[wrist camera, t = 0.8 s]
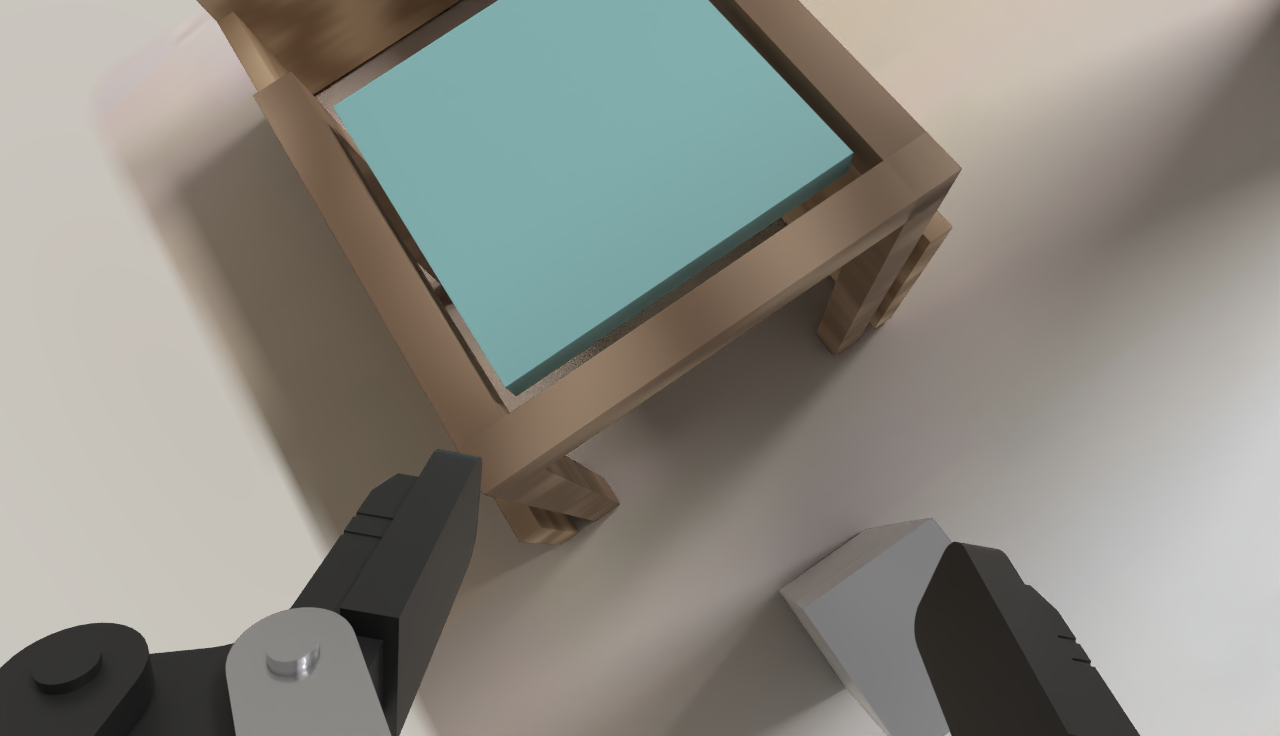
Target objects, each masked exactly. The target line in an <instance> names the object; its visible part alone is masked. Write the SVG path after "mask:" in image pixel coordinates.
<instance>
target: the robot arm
mask: <svg viewBox="0 0 1280 736" xmlns="http://www.w3.org/2000/svg"><path fill="white" fill-rule="evenodd" d="M481 475H482V458H481V457H478V456H473V455H467V454H461V453H456V452H450V451H444V450H439V449H437V450H436V451H435V452H434V453H433V454H432V456H431V458H430V459H429V461H428V463H427V464H426V466H425V468H424V469H423V471H422V473H421V474H420V476H419V477H415V476H409V475H404V474H396V475H395V476H393V477H392V478H390V479H389V480H387V481H385V482H384V483H382V484H381V485H379V486H378V487H376V488H375V489H373V490H372V491H371V492H370V494H369V495H368V497H367V498H366V500H365V501H364V503H363V504H362V506H361V507H360V508H359V510H358V511H357V515H356V517H353V519H352V520H351V521H350V523H349V524H348V526H347V527H346V529H345V530H344V534H343V535H341V536H340V537H339V539H338V540H337V542H336V543H335V545H334V546H333V548H332V549H331V550H330V552H329V553H328V555H327V556H326V558H325V559H324V561H323V562H322V564H321V565H320V566H319V568H318V569H317V571H316V572H315V574H314V575H313V577H312V578H311V579H310V581H309V582H308V584H307V585H306V587H305V588H304V590H303V591H302V593H301V594H300V595H299V597H298V598H297V600H296V601H295V603H294V604H293V605H292V607H291V608H290V609H289V610H285V611H281V612H278V613H275V614H272V615H270V616H269V617H266V618H264V619H262V620H260V621H259V622H257V623H255V624H254V625H252V626H251V627H250V628H249V629H247V630H246V631H245V632H244V633H243V634H242V635H241V636H240V637H239V638H238V639H237V640H236V642H235V643H233V644H229V645H225V646H219V647H213V648H205V649H195V650H185V651H175V652H166V653H155V654H149V651H148V645H147V643H146V641H145V639H144V638H143V636H142V635H141V634H140V633H139V632H137V631H136V630H134V629H133V628H130V627H127V626H125V625H120V624H114V623H93V624H86V625H80V626H75V627H72V628H68V629H64V630H62V631H59V632H56V633H54V634H51V635H49V636H47V637H44V638H42V639H40V640H38V641H36V642H35V643H33V644H31V645H29V646H27V647H26V648H24V649H23V650H21V651H20V652H19V653H17V654H16V655H14V656H13V657H12V658H11V659H10V660H9V661H8V662H6V663H5V664H4V665H3V666H2V667H1V668H0V736H399V735H400V733H401V730H402V728H403V725H404V723H405V720H406V718H407V715H408V713H409V710H410V708H411V706H412V703H413V701H414V698H415V696H416V693H417V691H418V688H419V686H420V683H421V681H422V679H423V676H424V674H425V671H426V669H427V666H428V664H429V661H430V659H431V656H432V654H433V651H434V649H435V647H436V644H437V642H438V639H439V637H440V634H441V632H442V629H443V627H444V624H445V622H446V620H447V617H448V615H449V612H450V610H451V607H452V605H453V602H454V600H455V597H456V595H457V593H458V590H459V588H460V585H461V583H462V580H463V578H464V575H465V573H466V570H467V568H468V565H469V562H470V559H471V556H472V552H473V548H474V543H475V538H476V532H477V522H478V510H479V499H480V487H481ZM914 634H915V640H916V644H917V648H918V650H919V653H920V655H921V658H922V660H923V663H924V666H925V668H926V671H927V673H928V676H929V678H930V681H931V684H932V686H933V689H934V691H935V694H936V697H937V699H938V702H939V704H940V707H941V709H942V712H943V715H944V717H945V720H946V722H947V725H948V727H949V730H950V733H951V735H952V736H1140V735H1139V733H1138V732H1137V730H1136V729H1135V727H1134V726H1133V724H1132V723H1131V721H1130V720H1129V718H1128V717H1127V715H1126V714H1125V712H1124V711H1123V709H1122V708H1121V706H1120V705H1119V703H1118V702H1117V700H1116V698H1115V697H1114V695H1113V694H1112V692H1111V691H1110V689H1109V688H1108V686H1107V685H1106V683H1105V682H1104V680H1103V679H1102V677H1101V676H1100V674H1099V673H1098V671H1097V670H1096V668H1095V667H1092V666H1091V665H1090V662H1091V661H1090V659H1089V658H1088V656H1087V654H1086V653H1085V651H1084V650H1083V648H1082V647H1081V645H1080V644H1077V643H1076V642H1075V640H1076V638H1075V636H1074V635H1073V633H1072V632H1071V630H1070V629H1069V627H1068V626H1067V624H1066V623H1065V621H1064V620H1063V618H1062V617H1061V615H1060V614H1059V612H1058V611H1057V610H1056V609H1055V608H1054V607H1053V606H1052V605H1051V604H1050V603H1049V602H1048V601H1046V600H1045V599H1044V598H1043V597H1042V596H1041V595H1040V594H1039V593H1038V592H1037V591H1036V590H1035V589H1034V588H1032V587H1031V586H1030V585H1025V584H1024V582H1023V581H1022V579H1021V578H1020V576H1019V574H1018V573H1017V571H1016V570H1015V568H1014V566H1013V565H1012V563H1011V562H1010V560H1009V559H1008V557H1007V556H1006V554H1005V553H1004V552H1003V551H1001V550H999V549H993V548H988V547H982V546H976V545H971V544H965V543H959V542H953V543H951V544H949V545H948V546H947V547H946V549H945V551H944V552H943V554H942V557H941V559H940V561H939V563H938V565H937V567H936V569H935V571H934V573H933V576H932V578H931V580H930V582H929V584H928V586H927V588H926V590H925V593H924V595H923V597H922V599H921V601H920V603H919V605H918V608H917V611H916V615H915V622H914Z"/></svg>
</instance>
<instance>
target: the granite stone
mask: <svg viewBox="0 0 1280 736" xmlns="http://www.w3.org/2000/svg"><path fill="white" fill-rule="evenodd" d="M951 543H952V542H951V540H950V539H949V538H948V537H947V535H946V534H945V533H944V532H943V530H942V529H941V528H940V527H939V525H938V524H937V523H936V521H935V520H934V519H933V518H926V519H920V520H915V521H909V522H903V523H898V524H892V525H886V526H881V527H875V528H869V529H865V530H864V531H862V532H861V533H859V534H858V535H857V536H855V537H854V538H852V539H851V540H849V541H848V542H847V543H845V544H844V545H842V546H841V547H840V548H838V549H837V550H835V551H834V552H832V553H831V554H830V555H828V556H827V557H825V558H824V559H823V560H821V561H820V562H818V563H817V564H815V565H814V566H813V567H811V568H810V569H808V570H807V571H806V572H804V573H803V574H801V575H800V576H798V577H797V578H796V579H794V580H793V581H791V582H790V583H788V584H787V585H786V586H784V587H783V588H781V589H780V590H779V592H780V593H781V595H782V596H783V598H784V599H785V601H786V602H787V603H788V605H789V606H790V608H791V609H792V611H793V612H794V614H795V615H796V616H797V618H798V619H799V621H800V622H801V624H802V625H803V627H804V628H805V629H806V631H807V632H808V634H809V635H810V637H811V638H812V640H813V641H814V643H815V644H816V645H817V647H818V648H819V650H820V651H821V653H822V654H823V656H824V657H825V658H826V660H827V661H828V663H829V664H830V666H831V667H832V669H833V670H834V671H835V673H836V674H837V676H838V677H839V679H840V680H841V682H842V683H843V684H844V686H845V687H846V689H847V690H848V691H849V692H850V694H851V695H852V696H853V697H854V698H855V699H856V700H857V702H858V703H859V704H860V705H861V706H862V707H863V709H864V710H865V711H866V712H867V713H868V714H869V715H870V717H871V718H872V719H873V720H874V721H875V722H876V724H877V725H878V726H879V727H880V728H881V729H882V730H883V732H884V733H885V734H886V735H887V736H944V735H945V734H947V733H948V732H949V731H950V730H949V727H948V725H947V722H946V720H945V717H944V715H943V712H942V709H941V707H940V704H939V702H938V699H937V697H936V694H935V691H934V689H933V686H932V684H931V681H930V678H929V676H928V673H927V671H926V668H925V666H924V663H923V660H922V658H921V655H920V653H919V650H918V648H917V644H916V640H915V634H914V622H915V615H916V611H917V608H918V605H919V603H920V601H921V599H922V597H923V595H924V593H925V590H926V588H927V586H928V584H929V582H930V580H931V578H932V576H933V573H934V571H935V569H936V567H937V565H938V563H939V561H940V559H941V557H942V554H943V552H944V551H945V549H946V547H947V546H948V545H949V544H951Z"/></svg>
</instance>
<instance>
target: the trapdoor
mask: <svg viewBox="0 0 1280 736" xmlns="http://www.w3.org/2000/svg"><path fill="white" fill-rule="evenodd" d="M333 108H334V110H335V111H336V113H337V115H338V116H339V118H340V119H341V121H342V123H343V124H344V126H345V128H346V129H347V131H348V132H349V134H350V136H351V137H352V139H353V141H354V142H355V144H356V145H357V147H358V149H359V150H360V152H361V154H362V155H363V157H364V159H365V160H366V162H367V163H368V165H369V167H370V168H371V170H372V172H373V173H374V175H375V176H376V178H377V180H378V181H379V183H380V185H381V186H382V188H383V190H384V191H385V193H386V194H387V196H388V198H389V199H390V201H391V203H392V204H393V206H394V207H395V209H396V211H397V212H398V214H399V216H400V217H401V219H402V220H403V222H404V224H405V225H406V227H407V229H408V230H409V232H410V234H411V235H412V237H413V238H414V240H415V242H416V243H417V245H418V247H419V248H420V250H421V251H422V253H423V255H424V256H425V258H426V260H427V261H428V263H429V264H430V266H431V268H432V269H433V271H434V273H435V274H436V276H437V278H438V279H439V281H440V282H441V284H442V286H443V287H444V289H445V291H446V292H447V294H448V295H449V297H450V299H451V300H452V302H453V304H454V305H455V307H456V309H457V310H458V312H459V313H460V315H461V317H462V318H463V320H464V322H465V323H466V325H467V326H468V328H469V330H470V331H471V333H472V335H473V336H474V338H475V339H476V341H477V343H478V344H479V346H480V348H481V349H482V351H483V353H484V354H485V356H486V357H487V359H488V361H489V362H490V364H491V366H492V367H493V369H494V370H495V372H496V374H497V375H498V377H499V379H500V380H501V382H502V383H503V385H504V387H505V388H506V389H508V390H509V391H510V392H511V393H513V394H514V395H515V396H517V395H519V394H520V393H522V392H523V391H525V390H526V389H528V388H529V387H531V386H532V385H534V384H535V383H537V382H538V381H540V380H541V379H543V378H544V377H546V376H547V375H549V374H550V373H551V372H553V371H554V370H556V369H557V368H559V367H560V366H562V365H563V364H565V363H566V362H568V361H569V360H571V359H572V358H574V357H575V356H577V355H578V354H580V353H581V352H583V351H584V350H586V349H587V348H588V347H590V346H591V345H593V344H594V343H596V342H597V341H599V340H600V339H602V338H603V337H605V336H606V335H608V334H609V333H611V332H612V331H614V330H615V329H617V328H618V327H620V326H621V325H623V324H624V323H625V322H627V321H628V320H630V319H631V318H633V317H634V316H636V315H637V314H639V313H640V312H642V311H643V310H645V309H646V308H648V307H649V306H651V305H652V304H654V303H655V302H657V301H658V300H660V299H661V298H663V297H664V296H665V295H667V294H668V293H670V292H671V291H673V290H674V289H676V288H677V287H679V286H680V285H682V284H683V283H685V282H686V281H688V280H689V279H691V278H692V277H694V276H695V275H697V274H698V273H700V272H701V271H702V270H704V269H705V268H707V267H708V266H710V265H711V264H713V263H714V262H716V261H717V260H719V259H720V258H722V257H723V256H725V255H726V254H728V253H729V252H731V251H732V250H734V249H735V248H737V247H738V246H740V245H741V244H742V243H744V242H745V241H747V240H748V239H750V238H751V237H753V236H754V235H756V234H757V233H759V232H760V231H762V230H763V229H765V228H766V227H768V226H769V225H771V224H772V223H774V222H775V221H777V220H778V219H779V218H781V217H782V216H784V215H785V214H787V213H788V212H790V211H791V210H793V209H794V208H796V207H797V206H799V205H800V204H802V203H803V202H805V201H806V200H808V199H809V198H811V197H812V196H814V195H815V194H816V193H818V192H819V191H821V190H822V189H824V188H825V187H827V186H828V185H830V184H831V183H833V182H834V181H836V180H837V179H839V178H840V177H842V176H843V175H845V174H846V173H848V171H849V168H850V164H851V160H852V156H853V152H852V151H851V150H850V148H849V147H848V146H847V145H846V144H845V143H844V142H843V141H842V140H841V139H840V138H839V137H838V136H837V135H836V134H835V133H834V132H833V131H832V130H831V129H830V127H829V126H828V125H827V124H826V123H825V122H824V121H823V120H822V119H821V118H820V117H819V116H818V115H817V114H816V113H815V112H814V111H813V110H812V109H811V108H810V106H809V105H808V104H807V103H806V102H805V101H804V100H803V99H802V98H801V97H800V96H799V95H798V94H797V93H796V92H795V91H794V90H793V89H792V88H791V87H790V85H789V84H788V83H787V82H786V81H785V80H784V79H783V78H782V77H781V76H780V75H779V74H778V73H777V72H776V71H775V70H774V69H773V68H772V67H771V66H770V64H769V63H768V62H767V61H766V60H765V59H764V58H763V57H762V56H761V55H760V54H759V53H758V52H757V51H756V50H755V49H754V48H753V47H752V46H751V45H750V43H749V42H748V41H747V40H746V39H745V38H744V37H743V36H742V35H741V34H740V33H739V32H738V31H737V30H736V29H735V28H734V27H733V26H732V25H731V24H730V22H729V21H728V20H727V19H726V18H725V17H724V16H723V15H722V14H721V13H720V12H719V11H718V10H717V9H716V8H715V7H714V6H713V5H712V4H711V3H710V1H709V0H498V1H496V2H494V3H493V4H491V5H490V6H488V7H487V8H485V9H484V10H482V11H481V12H479V13H477V14H476V15H474V16H473V17H471V18H470V19H468V20H467V21H465V22H463V23H462V24H460V25H459V26H457V27H456V28H454V29H453V30H451V31H449V32H448V33H446V34H445V35H443V36H442V37H440V38H439V39H437V40H435V41H434V42H432V43H431V44H429V45H428V46H426V47H425V48H423V49H422V50H420V51H418V52H417V53H415V54H414V55H412V56H411V57H409V58H408V59H406V60H404V61H403V62H401V63H400V64H398V65H397V66H395V67H394V68H392V69H390V70H389V71H387V72H386V73H384V74H383V75H381V76H380V77H378V78H376V79H375V80H373V81H372V82H370V83H369V84H367V85H366V86H364V87H362V88H361V89H359V90H358V91H356V92H355V93H353V94H352V95H350V96H349V97H347V98H345V99H344V100H342V101H341V102H339V103H338V104H336V105H335V106H333Z"/></svg>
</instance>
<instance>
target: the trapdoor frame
mask: <svg viewBox="0 0 1280 736" xmlns="http://www.w3.org/2000/svg"><path fill="white" fill-rule="evenodd" d="M197 1H198V2H199V3H200V4H201V6H202V7H203V8H204V9H205V10H206V11H207V12H208V13H209V14H210V15H211V16H212V17H213V18H214V19H215V20H216V21H217V22H218V24H219V26H220V28H221V29H222V31H223V33H224V35H225V36H226V38H227V40H228V41H229V43H230V45H231V47H232V48H233V50H234V52H235V53H236V55H237V57H238V59H239V60H240V62H241V64H242V65H243V67H244V69H245V71H246V72H247V74H248V76H249V77H250V79H251V81H252V83H253V84H254V86H255V88H256V90H257V91H258V92H257V93H256V94H254V95H253V96H254V98H255V100H256V101H257V103H258V105H259V107H260V108H261V110H262V112H263V113H264V115H265V117H266V119H267V120H268V122H269V124H270V126H271V127H272V129H273V131H274V133H275V134H276V136H277V138H278V139H279V141H280V143H281V145H282V146H283V148H284V150H285V152H286V153H287V155H288V157H289V159H290V160H291V162H292V164H293V165H294V167H295V169H296V171H297V172H298V174H299V176H300V178H301V179H302V181H303V183H304V185H305V186H306V188H307V190H308V191H309V193H310V195H311V197H312V198H313V200H314V202H315V204H316V205H317V207H318V209H319V210H320V212H321V214H322V216H323V217H324V219H325V221H326V223H327V224H328V226H329V228H330V230H331V231H332V233H333V235H334V236H335V238H336V240H337V242H338V243H339V245H340V247H341V249H342V250H343V252H344V254H345V256H346V257H347V259H348V261H349V262H350V264H351V266H352V268H353V269H354V271H355V273H356V275H357V276H358V278H359V280H360V282H361V283H362V285H363V287H364V288H365V290H366V292H367V294H368V295H369V297H370V299H371V301H372V302H373V304H374V306H375V308H376V309H377V311H378V313H379V314H380V316H381V318H382V320H383V321H384V323H385V325H386V327H387V328H388V330H389V332H390V333H391V335H392V337H393V339H394V340H395V342H396V344H397V346H398V347H399V349H400V351H401V353H402V354H403V356H404V358H405V359H406V361H407V363H408V365H409V366H410V368H411V370H412V372H413V373H414V375H415V377H416V379H417V380H418V382H419V384H420V385H421V387H422V389H423V391H424V392H425V394H426V396H427V398H428V399H429V401H430V403H431V405H432V406H433V408H434V410H435V411H436V413H437V415H438V417H439V418H440V420H441V422H442V424H443V425H444V427H445V429H446V430H447V432H448V434H449V436H450V437H451V439H452V441H453V443H454V444H455V446H456V448H457V450H458V451H459V453H461V454H467V455H473V456H478V457H481V458H482V475H481V487H480V489H481V491H482V493H483V495H487V496H491V497H494V499H495V501H496V502H497V504H498V506H499V507H500V509H501V511H502V513H503V514H504V516H505V518H506V519H507V521H508V523H509V525H510V526H511V528H512V530H513V531H514V533H515V535H516V537H517V538H518V540H519V542H524V543H543V544H563V543H564V542H566V541H567V540H569V539H570V538H572V537H573V536H575V535H576V534H577V533H578V531H577V530H576V528H575V526H574V525H573V523H572V521H571V520H570V518H569V517H568V515H571V516H575V517H580V518H584V519H588V520H592V521H596V520H598V519H599V518H601V517H602V516H604V515H605V514H606V513H608V512H609V511H611V510H612V509H614V508H615V507H617V506H618V505H620V502H619V501H618V499H617V498H616V496H615V495H614V493H613V492H612V490H611V488H610V487H609V485H608V484H607V482H606V481H605V479H604V478H602V477H601V476H599V475H597V474H596V473H594V472H592V471H591V470H589V469H587V468H585V467H584V466H582V465H580V464H579V463H577V462H575V461H574V460H572V459H570V458H569V457H567V456H565V455H566V454H568V453H569V452H571V451H572V450H574V449H575V448H577V447H578V446H580V445H581V444H582V443H584V442H585V441H587V440H588V439H590V438H591V437H593V436H594V435H596V434H597V433H599V432H600V431H601V430H603V429H604V428H606V427H607V426H609V425H610V424H612V423H613V422H615V421H616V420H618V419H619V418H621V417H622V416H623V415H625V414H626V413H628V412H629V411H631V410H632V409H634V408H635V407H637V406H638V405H640V404H641V403H643V402H644V401H645V400H647V399H648V398H650V397H651V396H653V395H654V394H656V393H657V392H659V391H660V390H662V389H663V388H664V387H666V386H667V385H669V384H670V383H672V382H673V381H675V380H676V379H678V378H679V377H681V376H682V375H684V374H685V373H686V372H688V371H689V370H691V369H692V368H694V367H695V366H697V365H698V364H700V363H701V362H703V361H704V360H706V359H707V358H708V357H710V356H711V355H713V354H714V353H716V352H717V351H719V350H720V349H722V348H723V347H725V346H726V345H727V344H729V343H730V342H732V341H733V340H735V339H736V338H738V337H739V336H741V335H742V334H744V333H745V332H747V331H748V330H749V329H751V328H752V327H754V326H755V325H757V324H758V323H760V322H761V321H763V320H764V319H766V318H767V317H769V316H770V315H771V314H773V313H774V312H776V311H777V310H779V309H780V308H782V307H783V306H785V305H786V304H788V303H789V302H790V301H792V300H793V299H795V298H796V297H798V296H799V295H801V294H802V293H804V292H805V291H807V290H808V289H810V288H811V287H812V286H814V285H815V284H817V283H818V282H820V281H821V280H823V279H824V278H826V277H827V276H829V275H830V276H831V277H832V278H833V280H834V281H835V282H836V283H835V286H834V288H833V291H832V293H831V296H830V299H829V301H828V304H827V306H826V309H825V311H824V314H823V316H822V319H821V321H820V324H819V327H818V329H817V332H816V334H817V336H818V337H819V338H820V339H821V340H822V342H823V343H824V344H825V345H826V347H827V348H828V349H829V350H830V352H831V353H832V354H833V355H834V356H836V355H837V354H839V353H840V352H841V351H843V350H844V349H846V348H847V347H849V346H850V345H852V344H853V343H855V342H856V341H857V340H859V338H860V337H861V335H862V333H863V332H864V330H865V328H866V327H867V325H868V323H869V322H870V324H871V325H872V326H873V327H874V328H876V327H878V326H879V325H881V324H882V323H884V322H885V321H886V320H888V319H889V318H891V316H892V315H893V314H894V312H895V311H896V309H897V308H898V306H899V305H900V303H901V302H902V300H903V299H904V297H905V296H906V295H907V293H908V292H909V290H910V289H911V287H912V286H913V284H914V283H915V281H916V280H917V278H918V277H919V276H920V274H921V273H922V271H923V270H924V268H925V267H926V265H927V264H928V262H929V261H930V259H931V258H932V257H933V255H934V254H935V252H936V251H937V249H938V248H939V246H940V245H941V243H942V242H943V240H944V239H945V238H946V236H947V235H948V233H949V232H950V230H951V229H952V226H951V225H950V224H949V223H948V222H947V220H946V219H945V218H944V217H943V216H942V215H941V214H940V213H939V212H938V211H937V209H938V208H939V206H940V204H941V203H942V201H943V199H944V198H945V196H946V194H947V193H948V191H949V189H950V188H951V186H952V184H953V183H954V181H955V179H956V178H957V176H958V175H959V173H960V171H961V170H962V168H961V167H960V166H959V165H958V164H957V163H956V162H955V161H954V160H953V159H952V158H951V157H950V156H949V155H948V154H947V153H946V151H945V150H944V149H943V148H942V147H941V146H940V145H939V144H938V143H937V142H936V141H935V140H934V139H933V138H932V137H931V136H930V135H929V134H928V133H927V132H926V131H925V130H924V129H923V128H922V127H921V126H920V125H919V124H918V123H917V122H916V121H915V120H914V119H913V118H912V117H911V116H910V114H909V113H908V112H907V111H906V110H905V109H904V108H903V107H902V106H901V105H900V104H899V103H898V102H897V101H896V100H895V99H894V98H893V97H892V96H891V95H890V94H889V93H888V92H887V91H886V90H885V89H884V88H883V87H882V86H881V85H880V84H879V83H878V82H877V81H876V80H875V78H874V77H873V76H872V75H871V74H870V73H869V72H868V71H867V70H866V69H865V68H864V67H863V66H862V65H861V64H860V63H859V62H858V61H857V60H856V59H855V58H854V57H853V56H852V55H851V54H850V53H849V52H848V51H847V50H846V49H845V48H844V47H843V46H842V45H841V44H840V43H839V41H838V40H837V39H836V38H835V37H834V36H833V35H832V34H831V33H830V32H829V31H828V30H827V29H826V28H825V27H824V26H823V25H822V24H821V23H820V22H819V21H818V20H817V19H816V18H815V17H814V16H813V15H812V14H811V13H810V12H809V11H808V10H807V9H806V8H805V7H804V6H803V4H802V3H801V2H800V1H799V0H709V1H710V3H711V4H712V5H713V6H714V7H715V8H716V9H717V10H718V11H719V12H720V13H721V14H722V15H723V16H724V17H725V18H726V19H727V20H728V21H729V22H730V24H731V25H732V26H733V27H734V28H735V29H736V30H737V31H738V32H739V33H740V34H741V35H742V36H743V37H744V38H745V39H746V40H747V41H748V42H749V43H750V45H751V46H752V47H753V48H754V49H755V50H756V51H757V52H758V53H759V54H760V55H761V56H762V57H763V58H764V59H765V60H766V61H767V62H768V63H769V64H770V66H771V67H772V68H773V69H774V70H775V71H776V72H777V73H778V74H779V75H780V76H781V77H782V78H783V79H784V80H785V81H786V82H787V83H788V84H789V85H790V87H791V88H792V89H793V90H794V91H795V92H796V93H797V94H798V95H799V96H800V97H801V98H802V99H803V100H804V101H805V102H806V103H807V104H808V105H809V106H810V108H811V109H812V110H813V111H814V112H815V113H816V114H817V115H818V116H819V117H820V118H821V119H822V120H823V121H824V122H825V123H826V124H827V125H828V126H829V127H830V129H831V130H832V131H833V132H834V133H835V134H836V135H837V136H838V137H839V138H840V139H841V140H842V141H843V142H844V143H845V144H846V145H847V146H848V147H849V148H850V150H851V151H852V152H853V156H852V160H851V164H850V168H849V171H848V173H846V174H845V175H843V176H842V177H840V178H839V179H837V180H836V181H834V182H833V183H831V184H830V185H828V186H827V187H825V188H824V189H822V190H821V191H819V192H818V193H816V194H815V195H814V196H812V197H811V198H809V199H808V200H806V201H805V202H803V203H802V204H800V205H799V206H797V207H796V208H794V209H793V210H791V211H790V212H788V213H787V214H785V215H784V216H782V217H781V218H782V219H783V220H784V221H785V223H786V224H787V225H788V226H786V227H785V228H783V229H782V230H780V231H779V232H777V233H776V234H774V235H773V236H771V237H770V238H768V239H767V240H765V241H764V242H762V243H761V244H759V245H758V246H757V247H755V248H754V249H752V250H751V251H749V252H748V253H746V254H745V255H743V256H742V257H740V258H739V259H737V260H736V261H734V262H733V263H731V264H730V265H728V266H727V267H725V268H724V269H723V270H721V271H720V272H718V273H717V274H715V275H714V276H712V277H711V278H709V279H708V280H706V281H705V282H703V283H702V284H700V285H699V286H697V287H696V288H694V289H693V290H691V291H690V292H689V293H687V294H686V295H684V296H683V297H681V298H680V299H678V300H677V301H675V302H674V303H672V304H671V305H669V306H668V307H666V308H665V309H663V310H662V311H660V312H659V313H657V314H656V315H655V316H653V317H652V318H650V319H649V320H647V321H646V322H644V323H643V324H641V325H640V326H638V327H637V328H635V329H634V330H632V331H631V332H629V333H628V334H626V335H625V336H623V337H622V338H621V339H619V340H618V341H616V342H615V343H613V344H612V345H610V346H609V347H607V348H606V349H604V350H603V351H601V352H600V353H598V354H597V355H595V356H594V357H592V358H591V359H589V360H588V361H587V362H585V363H584V364H582V365H581V366H579V367H578V368H576V369H575V370H573V371H572V372H570V373H569V374H567V375H566V376H564V377H563V378H561V379H560V380H558V381H557V382H555V383H554V384H553V385H551V386H550V387H548V388H547V389H545V390H544V391H542V392H541V393H539V394H538V395H536V396H535V397H533V398H532V399H530V400H529V401H527V402H526V403H524V404H523V405H521V406H520V407H519V408H517V409H516V410H514V411H513V412H511V413H509V411H508V410H507V408H506V406H505V405H504V403H503V402H502V400H501V398H500V397H499V395H498V393H497V392H496V390H495V388H494V387H493V385H492V384H491V382H490V380H489V379H488V377H487V375H486V374H485V372H484V371H483V369H482V367H481V366H480V364H479V362H478V361H477V359H476V358H475V356H474V354H473V353H472V351H471V349H470V348H469V346H468V345H467V343H466V341H465V340H464V338H463V336H462V335H461V333H460V332H459V330H458V328H457V327H456V325H455V323H454V322H453V320H452V319H451V317H450V315H449V314H448V312H447V310H446V309H445V307H444V306H443V304H442V302H441V301H440V299H439V297H438V296H437V294H436V293H435V291H434V289H433V288H432V286H431V284H430V283H429V281H428V280H427V278H426V276H425V275H424V273H423V271H422V270H421V268H420V267H419V265H421V266H422V267H423V268H424V269H425V270H426V271H427V272H428V273H429V274H430V275H431V276H432V277H433V278H435V279H436V280H437V281H438V282H439V283H440V284H441V282H440V281H439V279H438V278H437V276H436V274H435V273H434V271H433V269H432V268H431V266H430V264H429V263H428V261H427V260H426V258H425V256H424V255H423V253H422V251H421V250H420V248H419V247H418V245H417V243H416V242H415V240H414V238H413V237H412V235H411V234H410V232H409V230H408V229H407V227H406V225H405V224H404V222H403V220H402V219H401V217H400V216H399V214H398V212H397V211H396V209H395V207H394V206H393V204H392V203H391V201H390V199H389V198H388V196H387V194H386V193H385V191H384V190H383V188H382V186H381V185H380V183H379V181H378V180H377V178H376V176H375V175H374V173H373V172H372V170H371V168H370V167H369V165H368V163H367V162H366V160H365V159H364V157H363V155H362V154H361V152H360V150H359V149H358V147H357V145H356V144H355V142H354V141H353V139H352V138H351V137H350V136H349V134H348V133H347V132H346V131H345V130H344V129H343V128H342V127H341V126H340V125H339V123H338V122H337V121H336V120H335V119H334V118H333V117H332V116H331V115H330V114H329V112H328V111H327V110H326V109H325V108H324V107H323V106H322V105H321V104H320V103H319V101H318V100H317V99H316V98H315V97H314V96H313V95H314V94H315V93H317V92H318V91H320V90H321V89H323V88H324V87H326V86H328V85H329V84H331V83H332V82H334V81H335V80H337V79H338V78H340V77H342V76H343V75H345V74H346V73H348V72H349V71H351V70H352V69H354V68H356V67H357V66H359V65H360V64H362V63H363V62H365V61H366V60H368V59H370V58H371V57H373V56H374V55H376V54H377V53H379V52H381V51H382V50H384V49H385V48H387V47H388V46H390V45H391V44H393V43H395V42H396V41H398V40H399V39H401V38H402V37H404V36H405V35H407V34H409V33H410V32H412V31H413V30H415V29H416V28H418V27H419V26H421V25H423V24H424V23H426V22H427V21H429V20H430V19H432V18H433V17H435V16H437V15H438V14H440V13H441V12H443V11H444V10H446V9H447V8H449V7H451V6H452V5H454V4H455V3H457V2H458V1H460V0H197ZM418 264H419V265H418ZM441 285H442V284H441Z"/></svg>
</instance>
